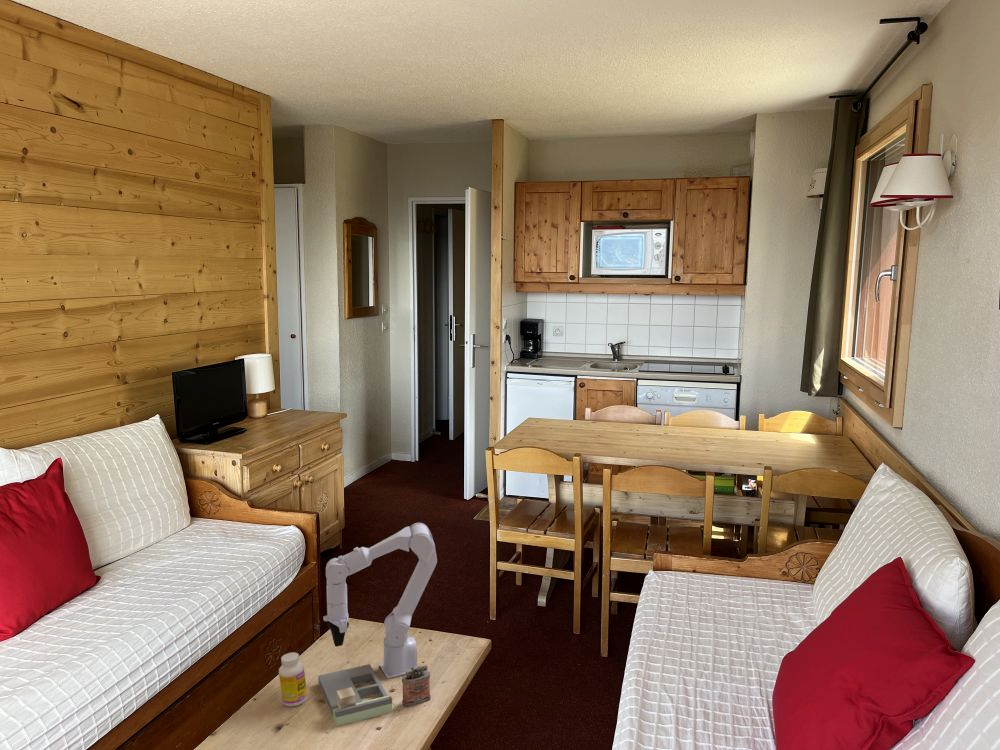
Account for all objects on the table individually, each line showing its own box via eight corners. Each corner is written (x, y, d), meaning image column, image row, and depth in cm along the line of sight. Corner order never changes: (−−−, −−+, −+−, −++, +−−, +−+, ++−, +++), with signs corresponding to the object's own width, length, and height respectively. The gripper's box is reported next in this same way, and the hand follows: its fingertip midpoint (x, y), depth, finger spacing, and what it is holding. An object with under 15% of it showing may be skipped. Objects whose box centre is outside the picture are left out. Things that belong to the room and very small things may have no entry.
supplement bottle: (301, 708, 203) (295, 663, 201) (278, 707, 204) (272, 662, 203) (311, 694, 210) (306, 650, 208) (289, 693, 211) (284, 650, 209)
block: (352, 701, 203) (351, 687, 202) (355, 708, 199) (355, 694, 199) (337, 704, 201) (336, 690, 201) (340, 712, 198) (340, 698, 197)
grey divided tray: (369, 671, 222) (369, 659, 221) (392, 712, 202) (392, 698, 202) (318, 683, 216) (318, 670, 215) (336, 726, 196) (336, 712, 195)
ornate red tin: (404, 708, 204) (404, 674, 202) (400, 702, 207) (399, 668, 205) (432, 700, 208) (432, 666, 206) (427, 694, 210) (427, 660, 209)
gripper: (317, 593, 221) (319, 636, 223) (328, 613, 208) (330, 659, 210) (341, 588, 224) (342, 631, 226) (354, 609, 211) (355, 654, 213)
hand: (338, 645), depth 219 cm, fingers closed
